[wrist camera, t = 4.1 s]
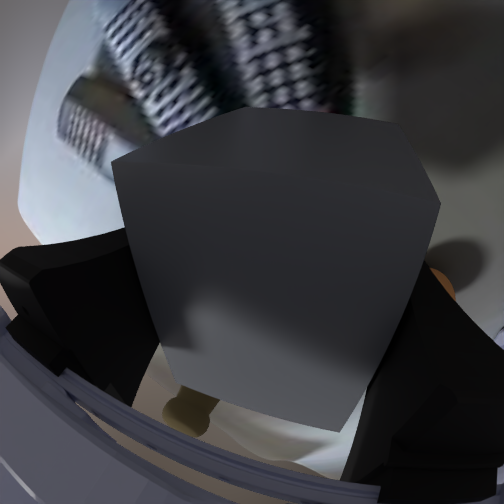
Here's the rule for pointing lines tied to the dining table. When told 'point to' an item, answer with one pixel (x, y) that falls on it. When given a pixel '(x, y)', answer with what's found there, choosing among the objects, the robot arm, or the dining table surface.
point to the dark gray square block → (278, 254)
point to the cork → (189, 411)
